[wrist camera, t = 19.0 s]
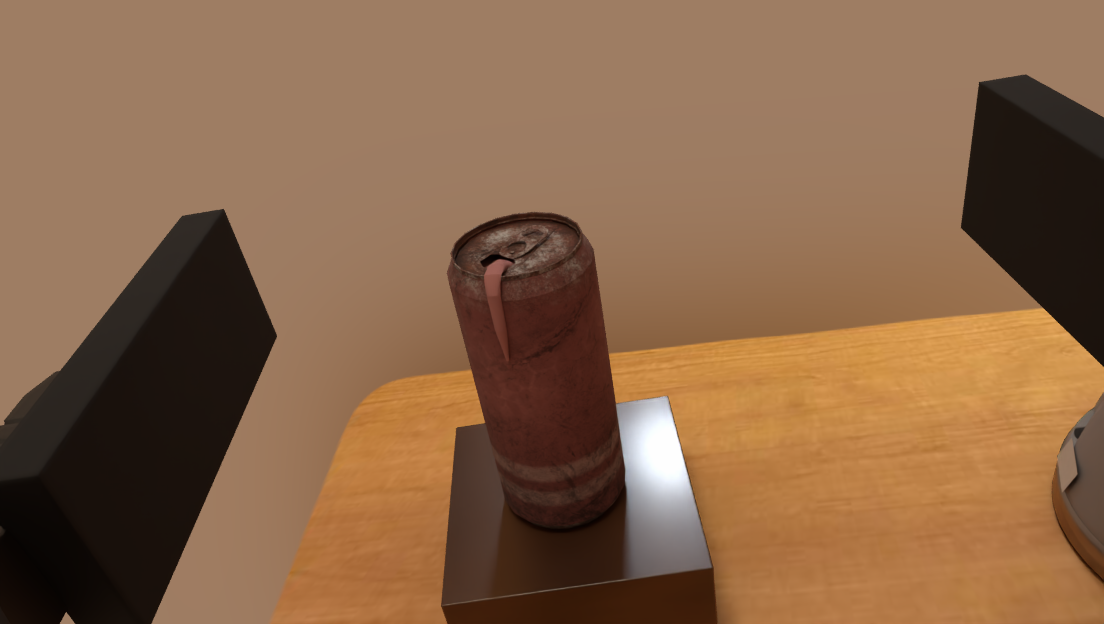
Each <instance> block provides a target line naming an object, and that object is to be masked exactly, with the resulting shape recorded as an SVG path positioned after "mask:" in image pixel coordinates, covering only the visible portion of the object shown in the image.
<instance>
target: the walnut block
mask: <svg viewBox="0 0 1104 624" xmlns="http://www.w3.org/2000/svg"><path fill="white" fill-rule="evenodd" d="M616 409H617V416H618V422H619V429H620V436H621V443H622V450H623V457H624V464H625V484H624V486H623V488H622V490H621V492H620V494H619V496H618V498H617V499H616V501H615V502H614V503H613V504H612V506H611V507H610V508H609V509H608V510H607V511H606V512H605V513H604V514H603V515H601V516H600V517H598V518H596V519H594V520H592V521H591V522H589V523H587V524H584V525H580V526H576V527H573V528H567V529H550V528H545V527H541V526H537V525H534V524H533V523H531V522H529V521H527V520H526V519H524V518H522V517H521V516H519V515H517V514H516V513H514V511H513V510H512V509H511V507H510V506H509V505H508V504H507V502H506V500H505V496H504V493H503V489H502V485H501V481H500V477H499V473H498V469H497V466H496V462H495V458H494V454H493V450H492V446H491V443H490V439H489V435H488V431H487V427H486V423H484V424H477V425H471V426H464V427H457V428H456V438H455V450H454V461H453V473H452V485H451V497H450V508H449V520H448V532H447V543H446V555H445V567H444V579H443V590H442V602H441V607H442V610H443V612H444V615H445V618H446V621H447V624H717V611H716V597H715V584H714V570H713V565H712V561H711V557H710V553H709V550H708V546H707V542H706V538H705V534H704V531H703V527H702V523H701V519H700V515H699V512H698V508H697V504H696V500H695V497H694V493H693V489H692V485H691V481H690V478H689V474H688V470H687V466H686V463H685V459H684V455H683V451H682V447H681V444H680V440H679V436H678V432H677V428H676V425H675V421H674V417H673V413H672V410H671V406H670V402H669V398H668V396H664V397H657V398H650V399H644V400H637V401H630V402H624V403H617V404H616Z"/></svg>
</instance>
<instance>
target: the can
mask: <svg viewBox="0 0 1104 624" xmlns="http://www.w3.org/2000/svg"><path fill="white" fill-rule="evenodd" d="M451 257H452V258H451V262H450V265H449V268H448V271H447V275H448V280H449V285H450V289H451V292H452V296H453V300H454V304H455V308H456V312H457V316H458V319H459V323H460V327H461V331H462V334H463V339H464V342H465V346H466V350H467V353H468V358H469V362H470V366H471V369H472V373H473V377H474V381H475V385H476V389H477V393H478V396H479V400H480V404H481V408H482V412H483V416H484V419H485V423H486V427H487V431H488V435H489V439H490V443H491V446H492V450H493V454H494V458H495V462H496V466H497V469H498V473H499V477H500V481H501V485H502V489H503V493H504V496H505V500H506V502H507V504H508V505H509V506H510V507H511V509H512V510H513V511H514V513H516V514H517V515H519V516H521V517H522V518H524V519H526V520H527V521H529V522H531V523H533V524H534V525H537V526H541V527H545V528H550V529H567V528H573V527H576V526H580V525H584V524H587V523H589V522H591V521H592V520H594V519H596V518H598V517H600V516H601V515H603V514H604V513H605V512H606V511H607V510H608V509H609V508H610V507H611V506H612V504H613V503H614V502H615V501H616V499H617V498H618V496H619V494H620V492H621V490H622V488H623V486H624V484H625V464H624V457H623V450H622V443H621V436H620V429H619V422H618V416H617V409H616V402H615V395H614V388H613V381H612V374H611V367H610V360H609V353H608V347H607V340H606V333H605V327H604V319H603V312H602V305H601V299H600V291H599V285H598V277H597V271H596V264H595V257H594V251H593V248H592V246H591V244H590V243H589V241H588V239H587V238H586V237H585V235H584V234H583V233H582V231H581V229H580V227H579V226H578V224H577V223H576V222H574V221H573V220H571V219H570V218H568V217H566V216H562V215H558V214H554V213H543V212H530V213H518V214H512V215H508V216H504V217H499V218H496V219H493V220H490V221H488V222H485V223H483V224H480V225H478V226H476V227H475V228H473V229H471V230H470V231H468V232H467V233H465V234H464V235H463V236H462V237H461V238H460V239H459V240H458V241H457V242H456V243H455V244H454V246H453V249H452V251H451Z"/></svg>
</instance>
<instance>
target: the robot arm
mask: <svg viewBox="0 0 1104 624" xmlns="http://www.w3.org/2000/svg"><path fill="white" fill-rule="evenodd" d="M961 228H962V229H963V230H964V231H965V232H966V233H967V234H968V235H969V236H970V237H971V238H972V239H973V240H974V241H975V242H976V243H977V244H978V245H979V246H980V247H981V248H982V249H983V250H984V251H985V252H986V253H987V254H988V255H989V256H990V257H992V258H993V259H994V260H995V261H996V262H997V263H998V264H999V265H1000V266H1001V267H1002V268H1003V269H1004V270H1005V271H1006V272H1007V273H1008V274H1009V275H1010V276H1011V277H1012V278H1013V279H1014V280H1015V281H1016V282H1017V283H1018V284H1019V285H1020V286H1021V287H1022V288H1023V289H1024V290H1025V291H1026V292H1027V293H1028V294H1029V295H1031V296H1032V297H1033V298H1034V299H1035V300H1036V301H1037V302H1038V303H1039V304H1040V305H1041V306H1042V307H1043V308H1044V309H1045V310H1046V311H1047V312H1048V313H1049V314H1050V315H1051V316H1052V317H1053V318H1054V319H1055V320H1056V321H1057V322H1058V323H1059V324H1060V325H1061V326H1062V327H1063V328H1064V329H1065V330H1066V331H1067V332H1069V333H1070V334H1071V335H1072V336H1073V337H1074V338H1075V339H1076V340H1077V341H1078V342H1079V343H1080V344H1081V345H1082V346H1083V347H1084V348H1085V349H1086V350H1087V351H1088V352H1089V353H1090V354H1091V355H1092V356H1093V357H1094V358H1095V359H1096V360H1097V361H1098V362H1099V363H1100V364H1101V365H1102V366H1103V367H1104V117H1102V116H1100V115H1098V114H1097V113H1095V112H1093V111H1091V110H1089V109H1087V108H1086V107H1084V106H1082V105H1080V104H1078V103H1076V102H1075V101H1073V100H1071V99H1069V98H1067V97H1066V96H1064V95H1062V94H1060V93H1058V92H1057V91H1055V90H1053V89H1051V88H1049V87H1048V86H1046V85H1044V84H1042V83H1040V82H1038V81H1037V80H1035V79H1033V78H1031V77H1029V76H1028V75H1020V76H1014V77H1008V78H1002V79H996V80H990V81H984V82H979V88H978V97H977V104H976V112H975V120H974V129H973V136H972V144H971V152H970V160H969V168H968V176H967V184H966V192H965V199H964V207H963V215H962V223H961ZM276 337H277V335H276V332H275V330H274V328H273V325H272V323H271V320H270V318H269V315H268V313H267V311H266V308H265V306H264V304H263V301H262V299H261V297H260V294H259V292H258V289H257V287H256V285H255V282H254V280H253V277H252V275H251V273H250V270H249V268H248V266H247V263H246V261H245V258H244V256H243V254H242V251H241V249H240V247H239V244H238V242H237V239H236V237H235V234H234V232H233V230H232V228H231V225H230V223H229V220H228V218H227V215H226V213H225V211H224V209H221V210H215V211H209V212H203V213H197V214H191V215H185V216H182V217H181V218H180V219H179V220H178V222H177V223H176V224H175V226H174V227H173V228H172V229H171V231H170V232H169V233H168V234H167V236H166V237H165V238H164V240H163V241H162V242H161V243H160V245H159V246H158V247H157V249H156V250H155V251H154V252H153V254H152V255H151V256H150V258H149V259H148V260H147V261H146V262H145V264H144V265H143V266H142V268H141V269H140V270H139V271H138V273H137V274H136V275H135V276H134V278H133V279H132V280H131V282H130V283H129V284H128V285H127V287H126V288H125V289H124V290H123V292H122V293H121V294H120V295H119V297H118V298H117V299H116V301H115V302H114V303H113V304H112V306H111V307H110V308H109V309H108V311H107V312H106V313H105V315H104V316H103V317H102V318H101V320H100V321H99V322H98V323H97V325H96V326H95V327H94V329H93V330H92V331H91V332H90V334H89V335H88V336H87V337H86V339H85V340H84V341H83V343H82V344H81V345H80V347H79V348H78V349H77V350H76V351H75V353H74V354H73V355H72V357H71V358H70V359H69V360H68V362H67V363H66V364H65V366H64V367H63V368H62V369H61V371H58V372H55V373H53V374H52V375H51V376H49V377H48V378H47V379H46V380H44V381H43V382H42V383H40V384H39V385H38V386H36V387H35V388H34V389H32V390H31V391H30V392H29V393H27V394H26V395H25V396H24V397H23V398H22V399H21V401H20V402H19V403H18V404H17V405H16V407H15V408H14V409H13V410H12V412H11V413H10V414H9V415H8V417H7V418H6V419H5V420H4V422H5V425H2V426H0V624H60V622H61V620H62V618H63V617H64V615H65V613H66V612H67V614H68V615H69V616H70V617H71V619H72V620H73V621H74V623H75V624H151V623H152V621H153V618H154V617H155V614H156V612H157V610H158V607H159V605H160V603H161V601H162V598H163V596H164V594H165V591H166V589H167V587H168V584H169V582H170V580H171V578H172V575H173V573H174V571H175V568H176V566H177V564H178V562H179V559H180V557H181V555H182V552H183V550H184V548H185V545H186V543H187V541H188V539H189V536H190V534H191V532H192V530H193V527H194V525H195V523H196V520H197V518H198V516H199V513H200V511H201V509H202V507H203V504H204V502H205V500H206V497H207V495H208V493H209V491H210V488H211V486H212V484H213V482H214V479H215V477H216V475H217V472H218V470H219V468H220V465H221V463H222V461H223V459H224V456H225V454H226V452H227V449H228V447H229V445H230V443H231V440H232V438H233V436H234V433H235V431H236V429H237V427H238V424H239V422H240V420H241V418H242V415H243V413H244V411H245V408H246V406H247V404H248V401H249V399H250V397H251V395H252V392H253V390H254V388H255V385H256V383H257V381H258V379H259V376H260V374H261V372H262V369H263V367H264V365H265V362H266V360H267V358H268V356H269V354H270V351H271V349H272V346H273V344H274V342H275V340H276ZM1057 458H1058V461H1057V465H1056V469H1055V473H1054V478H1053V482H1052V498H1053V504H1054V508H1055V512H1056V515H1057V518H1058V520H1059V523H1060V525H1061V527H1062V529H1063V531H1064V533H1065V534H1066V536H1067V538H1068V539H1069V541H1070V542H1071V544H1072V545H1073V547H1074V548H1075V550H1076V551H1077V552H1078V553H1079V555H1080V556H1081V557H1082V558H1083V559H1084V561H1085V562H1086V563H1087V564H1088V565H1089V566H1090V567H1091V568H1092V569H1093V570H1094V571H1095V572H1096V573H1097V574H1098V575H1099V576H1100V577H1101V578H1102V579H1103V580H1104V393H1103V394H1102V396H1101V397H1100V398H1099V400H1098V402H1097V403H1096V405H1095V407H1094V408H1093V409H1091V410H1090V411H1088V412H1087V413H1086V414H1085V415H1084V416H1083V417H1082V418H1081V419H1080V420H1079V421H1078V422H1077V424H1076V425H1075V426H1074V427H1073V429H1072V430H1071V431H1070V432H1069V433H1068V435H1067V436H1066V438H1065V439H1064V441H1063V444H1062V446H1061V448H1060V453H1059V454H1058V456H1057Z"/></svg>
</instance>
